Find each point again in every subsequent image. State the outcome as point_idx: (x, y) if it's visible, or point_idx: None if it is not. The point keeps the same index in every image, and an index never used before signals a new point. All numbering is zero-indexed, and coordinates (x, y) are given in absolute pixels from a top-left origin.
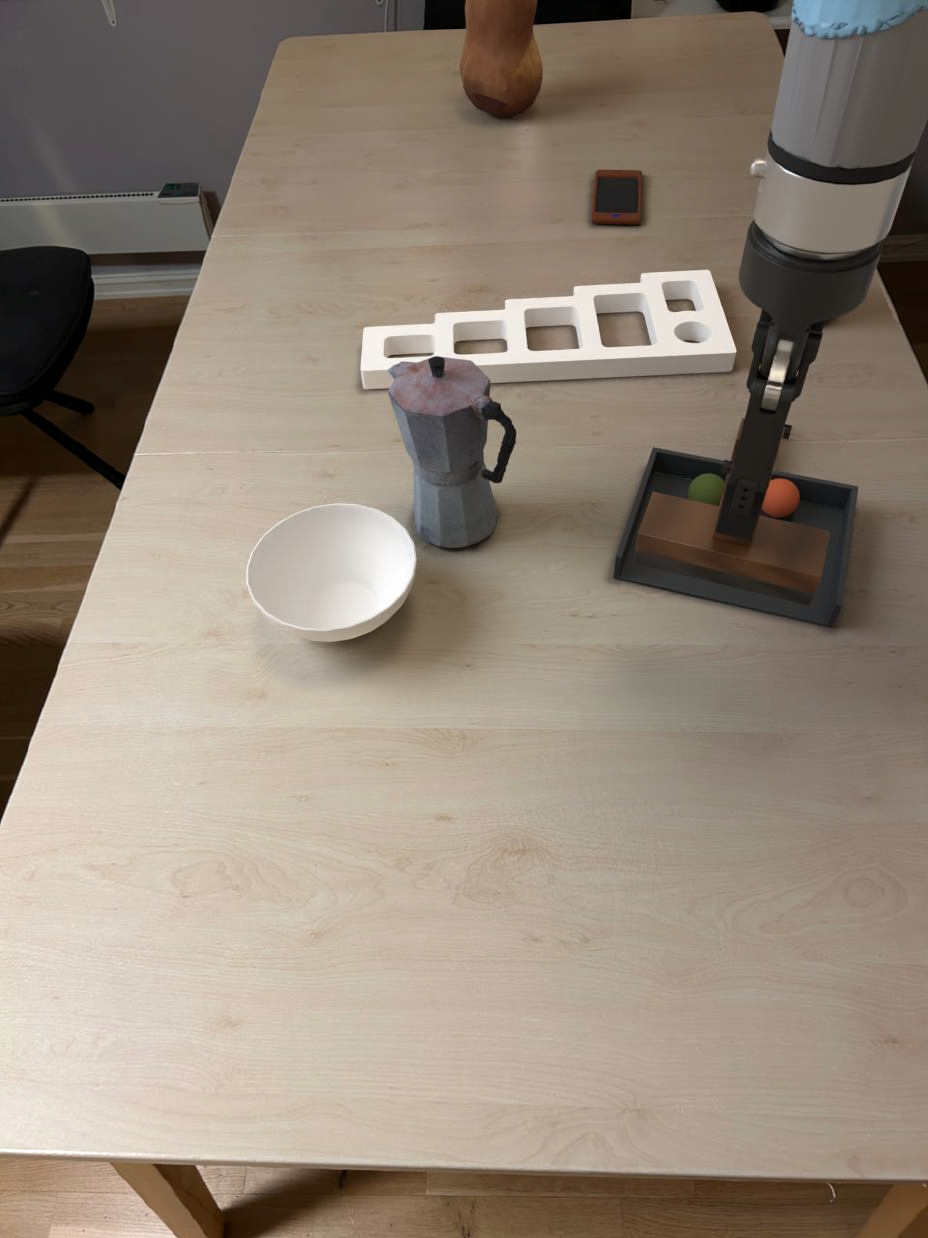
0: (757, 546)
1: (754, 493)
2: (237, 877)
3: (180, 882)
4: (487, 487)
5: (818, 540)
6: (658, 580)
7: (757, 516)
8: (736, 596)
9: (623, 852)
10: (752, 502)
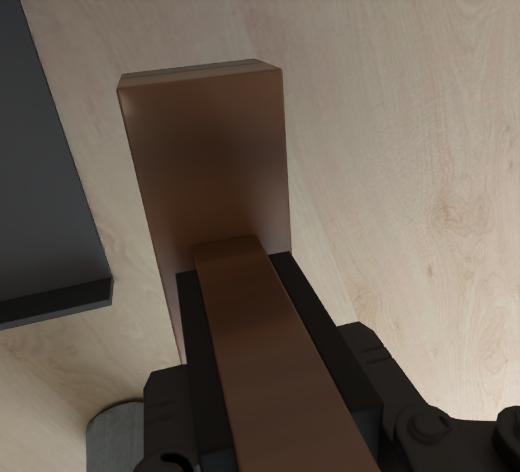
0: (248, 222)
1: (410, 384)
2: (492, 347)
3: (499, 367)
4: (114, 457)
5: (165, 108)
6: (87, 239)
7: (314, 294)
8: (50, 142)
9: (430, 131)
10: (390, 357)
